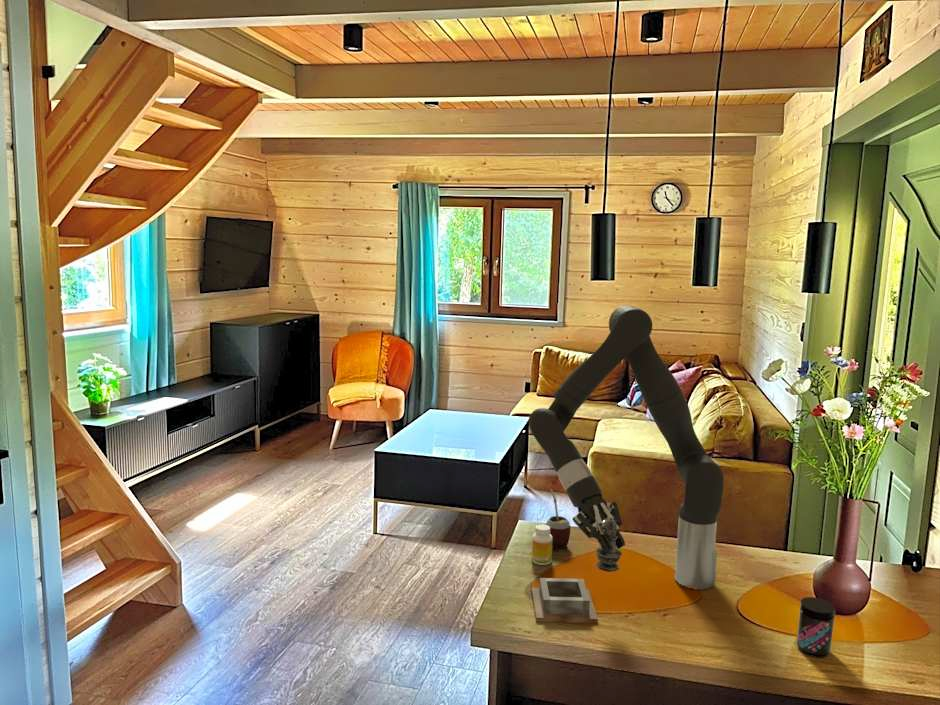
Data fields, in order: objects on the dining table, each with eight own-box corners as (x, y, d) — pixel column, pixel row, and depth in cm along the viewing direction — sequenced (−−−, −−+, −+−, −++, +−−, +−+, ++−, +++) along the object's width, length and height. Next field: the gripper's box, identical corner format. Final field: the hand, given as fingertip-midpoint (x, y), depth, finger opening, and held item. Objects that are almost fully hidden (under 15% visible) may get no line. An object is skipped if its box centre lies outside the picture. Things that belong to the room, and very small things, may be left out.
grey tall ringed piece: (622, 563, 169) (625, 514, 167) (618, 574, 163) (622, 524, 161) (596, 558, 170) (600, 510, 168) (592, 569, 165) (596, 519, 163)
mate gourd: (563, 553, 201) (565, 502, 198) (537, 547, 205) (539, 496, 202) (574, 544, 207) (576, 494, 204) (548, 537, 211) (550, 488, 208)
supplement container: (788, 644, 158) (793, 600, 156) (811, 638, 161) (816, 594, 159) (814, 661, 152) (819, 615, 150) (837, 654, 154) (842, 609, 153)
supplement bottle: (552, 565, 193) (553, 531, 192) (532, 565, 193) (533, 530, 192) (550, 556, 199) (552, 523, 197) (531, 556, 199) (532, 522, 197)
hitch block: (588, 592, 179) (589, 575, 178) (597, 623, 165) (598, 604, 165) (531, 591, 179) (532, 574, 178) (536, 621, 165) (536, 603, 165)
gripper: (567, 481, 165) (605, 550, 157) (607, 469, 174) (645, 534, 166) (549, 496, 169) (585, 564, 162) (589, 484, 178) (625, 548, 171)
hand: (615, 548), depth 164 cm, fingers closed on grey tall ringed piece, 3 cm apart
